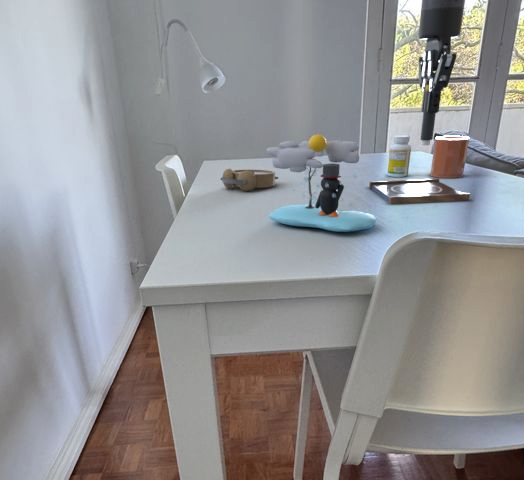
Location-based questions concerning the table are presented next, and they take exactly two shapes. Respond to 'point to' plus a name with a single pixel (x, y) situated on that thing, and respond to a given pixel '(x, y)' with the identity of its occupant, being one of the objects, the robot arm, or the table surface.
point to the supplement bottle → (399, 156)
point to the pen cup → (449, 156)
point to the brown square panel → (417, 191)
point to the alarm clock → (248, 179)
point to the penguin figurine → (328, 199)
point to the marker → (427, 122)
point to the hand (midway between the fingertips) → (429, 112)
